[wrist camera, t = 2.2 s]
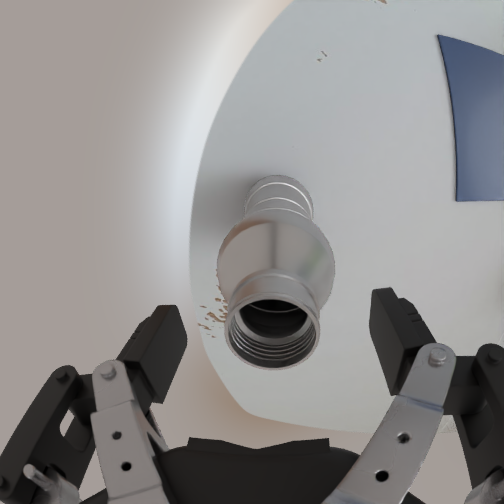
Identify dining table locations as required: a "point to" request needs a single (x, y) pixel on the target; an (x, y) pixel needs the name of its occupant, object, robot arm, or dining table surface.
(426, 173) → the dining table surface
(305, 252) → the silver metal bottle
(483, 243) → the dining table surface
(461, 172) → the flat rectangular board
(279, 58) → the dining table surface
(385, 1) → the dining table surface
